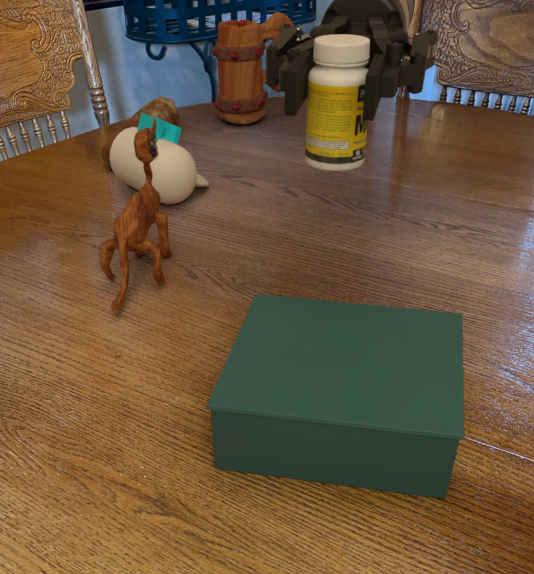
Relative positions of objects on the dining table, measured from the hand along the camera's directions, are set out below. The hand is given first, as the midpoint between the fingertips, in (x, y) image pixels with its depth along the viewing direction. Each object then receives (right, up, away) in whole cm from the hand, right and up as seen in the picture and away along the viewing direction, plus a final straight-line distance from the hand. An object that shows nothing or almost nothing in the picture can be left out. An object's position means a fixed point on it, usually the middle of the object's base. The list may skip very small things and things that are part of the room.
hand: (329, 96), depth 47 cm
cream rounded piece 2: (-17, +12, +46) cm, 51 cm away
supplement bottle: (+1, -1, +8) cm, 8 cm away
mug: (-6, +34, +71) cm, 79 cm away
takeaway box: (+2, -21, +9) cm, 23 cm away
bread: (-23, +23, +59) cm, 67 cm away
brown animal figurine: (-18, -5, +28) cm, 33 cm away
